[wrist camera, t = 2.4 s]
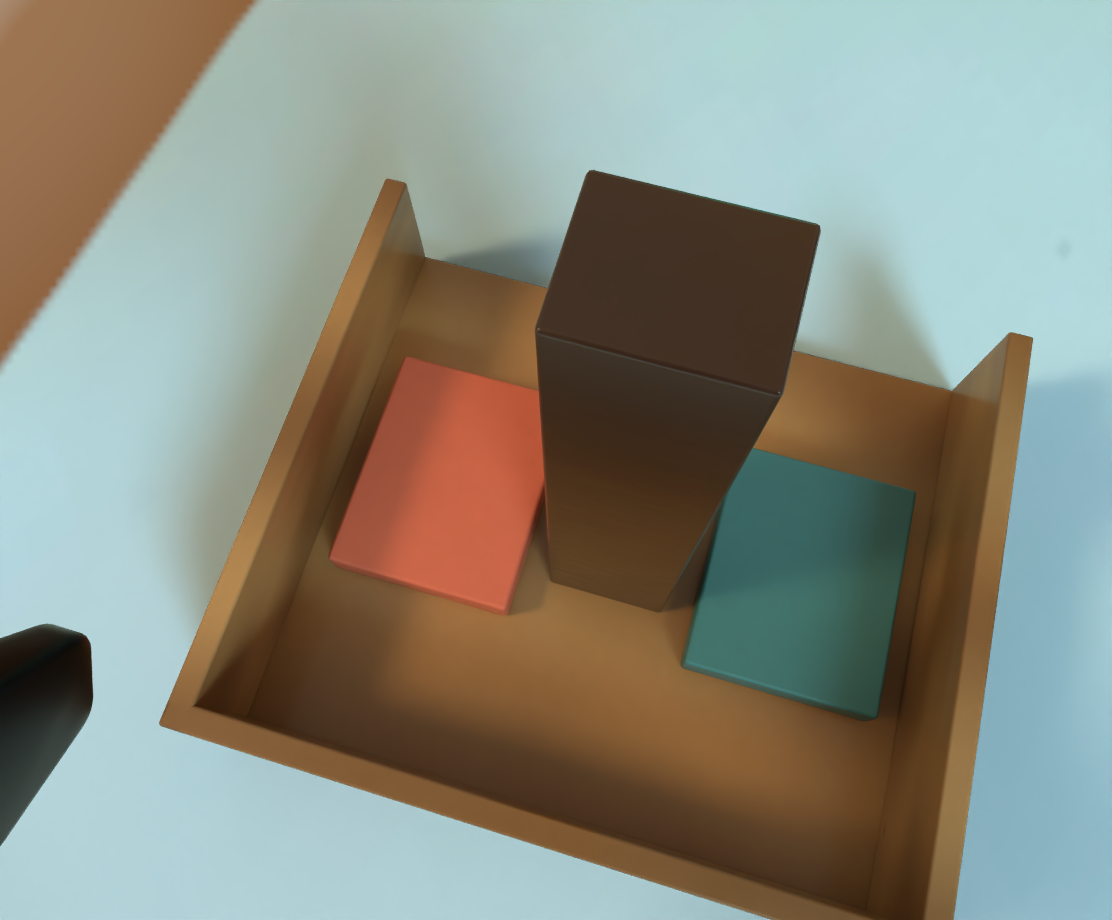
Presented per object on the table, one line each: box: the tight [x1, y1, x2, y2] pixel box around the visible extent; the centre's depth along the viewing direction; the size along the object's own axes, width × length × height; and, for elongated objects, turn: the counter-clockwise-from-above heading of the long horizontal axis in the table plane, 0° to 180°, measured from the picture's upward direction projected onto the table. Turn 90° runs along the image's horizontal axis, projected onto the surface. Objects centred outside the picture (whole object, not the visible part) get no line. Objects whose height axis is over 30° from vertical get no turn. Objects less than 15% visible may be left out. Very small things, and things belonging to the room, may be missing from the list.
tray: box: [159, 170, 1033, 920], centre depth 15 cm, size 12×14×12 cm
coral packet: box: [328, 356, 545, 616], centre depth 21 cm, size 5×4×1 cm
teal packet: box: [680, 448, 916, 721], centre depth 20 cm, size 5×4×1 cm
